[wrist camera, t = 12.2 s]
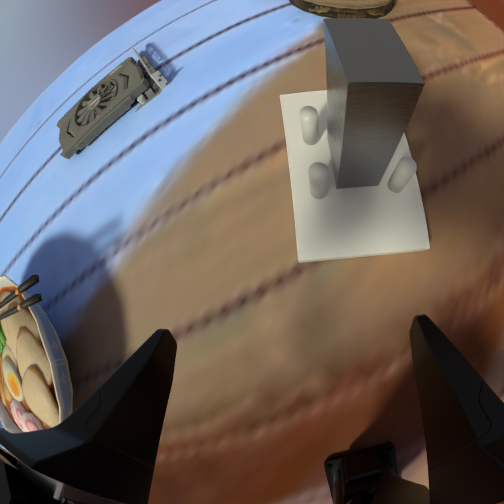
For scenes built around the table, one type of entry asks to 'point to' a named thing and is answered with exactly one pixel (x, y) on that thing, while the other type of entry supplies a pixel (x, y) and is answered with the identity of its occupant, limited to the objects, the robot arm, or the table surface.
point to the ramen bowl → (30, 363)
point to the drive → (366, 97)
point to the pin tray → (347, 193)
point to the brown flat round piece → (345, 8)
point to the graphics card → (108, 103)
